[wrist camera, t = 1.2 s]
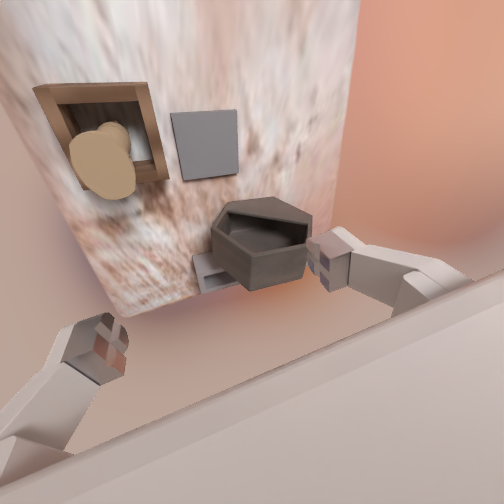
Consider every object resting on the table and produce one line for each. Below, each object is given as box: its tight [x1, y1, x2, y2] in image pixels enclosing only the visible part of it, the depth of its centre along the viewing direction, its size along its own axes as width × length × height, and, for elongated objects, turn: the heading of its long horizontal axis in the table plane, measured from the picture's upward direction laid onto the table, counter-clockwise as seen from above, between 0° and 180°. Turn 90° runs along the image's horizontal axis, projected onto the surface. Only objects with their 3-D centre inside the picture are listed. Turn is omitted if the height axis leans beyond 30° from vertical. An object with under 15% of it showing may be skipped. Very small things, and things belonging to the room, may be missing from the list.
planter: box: [211, 197, 312, 291], centre depth 44 cm, size 17×8×21 cm
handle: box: [69, 120, 136, 200], centre depth 28 cm, size 5×6×15 cm
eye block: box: [32, 82, 170, 190], centre depth 31 cm, size 12×12×5 cm
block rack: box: [192, 251, 308, 294], centre depth 55 cm, size 7×29×6 cm, turn 90°
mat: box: [171, 110, 239, 180], centre depth 38 cm, size 10×10×1 cm
